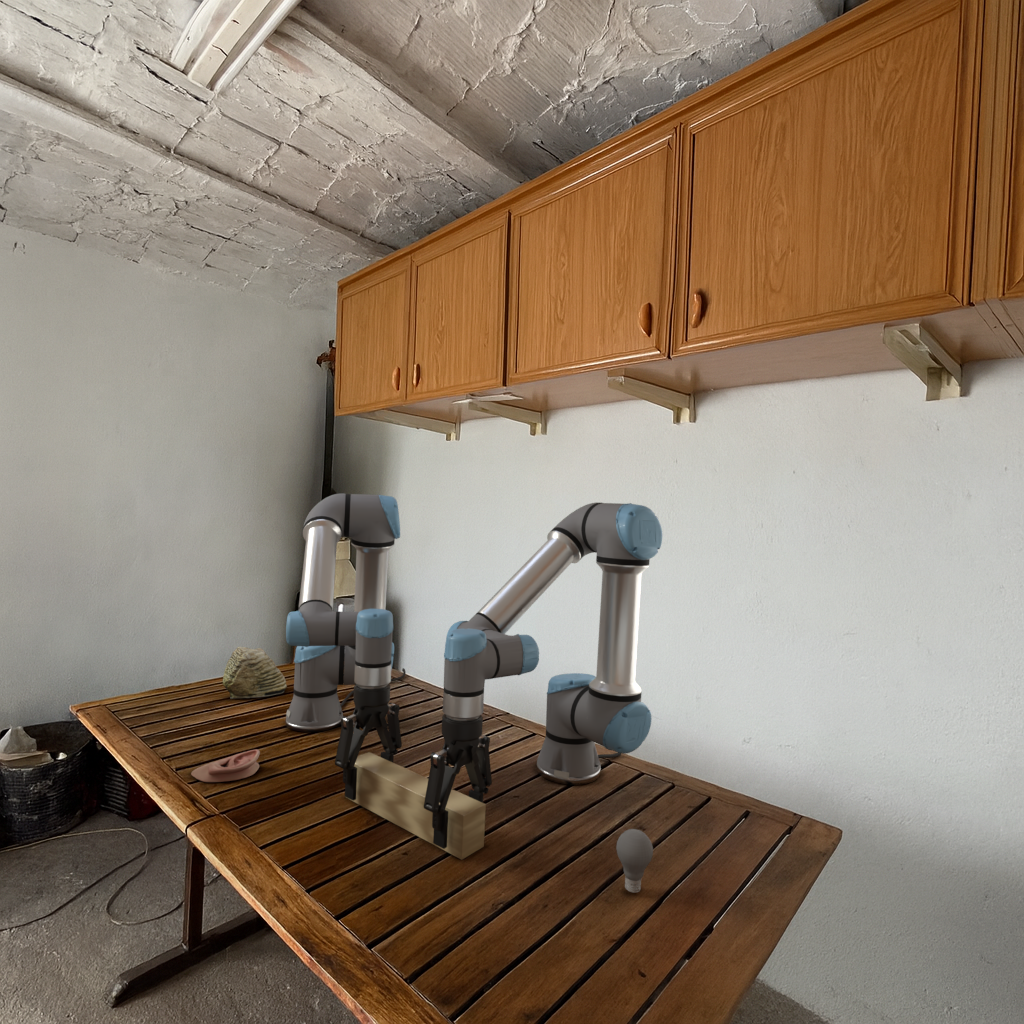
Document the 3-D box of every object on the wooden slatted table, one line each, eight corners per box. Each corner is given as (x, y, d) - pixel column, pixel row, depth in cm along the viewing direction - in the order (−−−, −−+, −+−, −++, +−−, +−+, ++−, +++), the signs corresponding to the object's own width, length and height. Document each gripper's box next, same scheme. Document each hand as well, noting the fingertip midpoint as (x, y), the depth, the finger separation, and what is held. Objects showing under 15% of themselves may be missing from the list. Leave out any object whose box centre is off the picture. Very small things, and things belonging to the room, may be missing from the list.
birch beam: (344, 797, 134) (346, 759, 134) (367, 787, 139) (369, 751, 138) (461, 860, 113) (463, 815, 112) (484, 846, 117) (485, 804, 117)
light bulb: (610, 879, 108) (613, 822, 108) (644, 879, 109) (647, 822, 109) (619, 902, 102) (622, 840, 102) (655, 901, 103) (658, 840, 103)
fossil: (218, 695, 195) (220, 647, 195) (278, 685, 208) (279, 640, 207) (228, 703, 189) (230, 653, 188) (289, 692, 201) (290, 645, 201)
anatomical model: (182, 760, 139) (216, 741, 150) (181, 778, 139) (216, 758, 150) (236, 768, 136) (267, 748, 147) (235, 786, 136) (266, 765, 147)
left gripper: (399, 671, 144) (394, 769, 144) (318, 690, 127) (314, 801, 128) (421, 677, 139) (417, 780, 140) (341, 698, 123) (336, 814, 123)
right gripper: (485, 697, 128) (480, 808, 128) (405, 723, 111) (400, 850, 112) (514, 706, 123) (509, 821, 123) (435, 734, 106) (430, 867, 107)
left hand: (368, 790), depth 134 cm, fingers open, 8 cm apart
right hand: (457, 835), depth 117 cm, fingers open, 8 cm apart
